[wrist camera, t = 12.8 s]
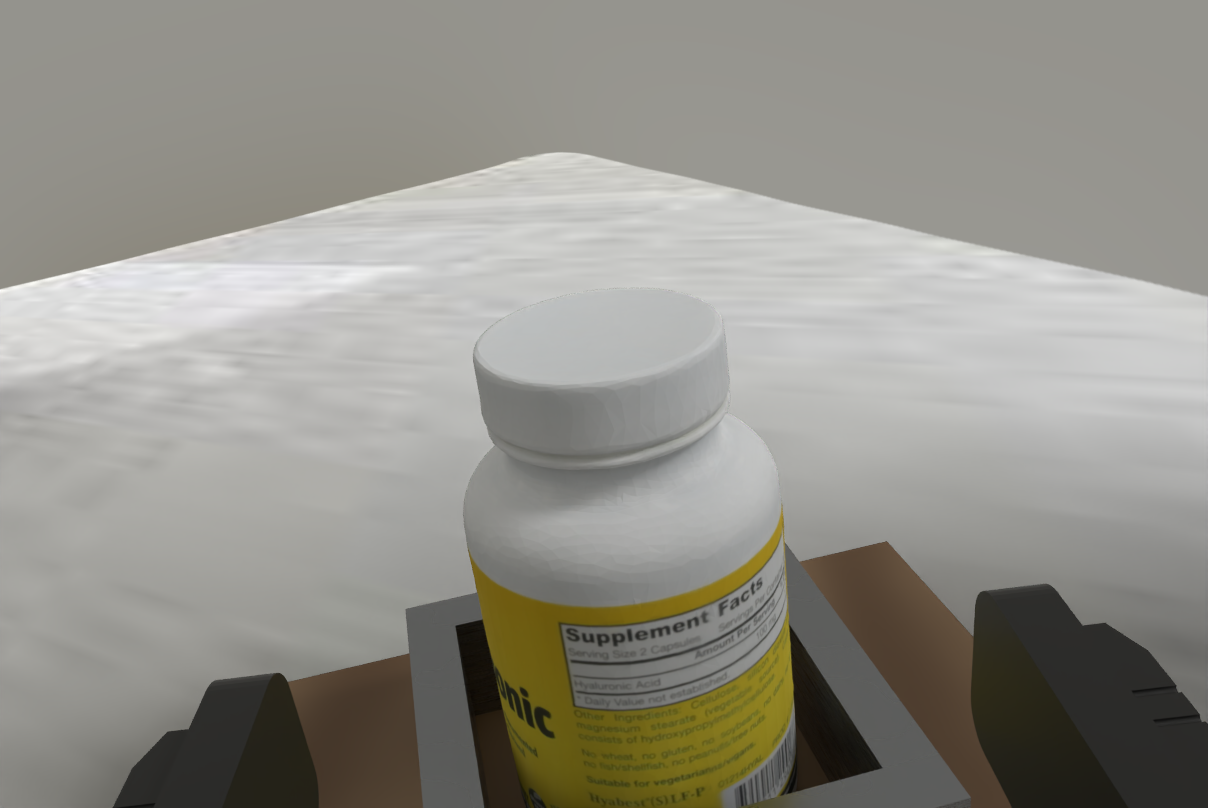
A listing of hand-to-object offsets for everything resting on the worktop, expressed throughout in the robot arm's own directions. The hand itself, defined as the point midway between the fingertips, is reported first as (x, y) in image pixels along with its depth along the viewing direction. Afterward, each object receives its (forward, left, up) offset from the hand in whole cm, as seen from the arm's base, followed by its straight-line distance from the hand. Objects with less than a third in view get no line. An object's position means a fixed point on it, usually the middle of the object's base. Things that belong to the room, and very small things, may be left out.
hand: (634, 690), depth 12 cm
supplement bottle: (-1, -6, -8) cm, 10 cm away
